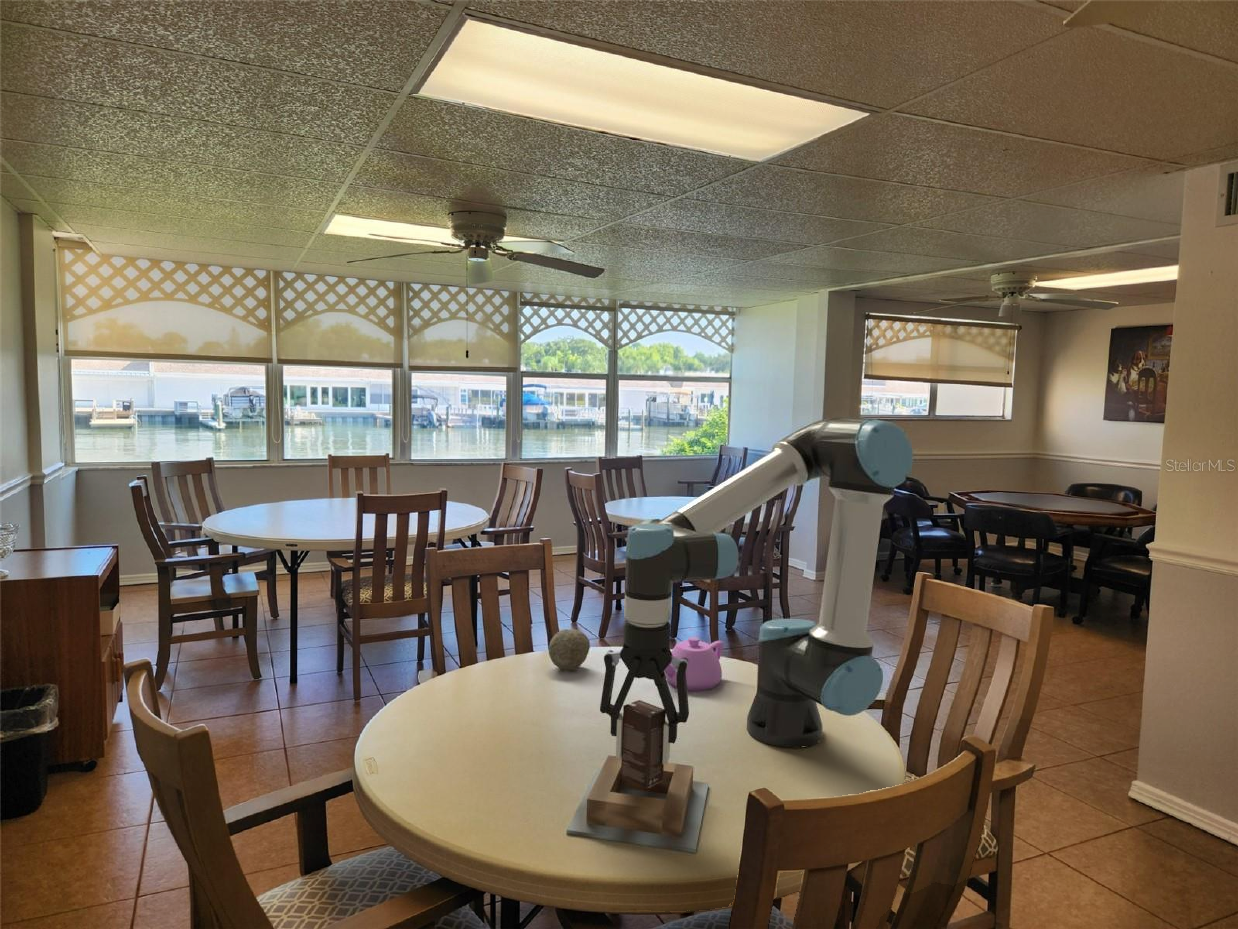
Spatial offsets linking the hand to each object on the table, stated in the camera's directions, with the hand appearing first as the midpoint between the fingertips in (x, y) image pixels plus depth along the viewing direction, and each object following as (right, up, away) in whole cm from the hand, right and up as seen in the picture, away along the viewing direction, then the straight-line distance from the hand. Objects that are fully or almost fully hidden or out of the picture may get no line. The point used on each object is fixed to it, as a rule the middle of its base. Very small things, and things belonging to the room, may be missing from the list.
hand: (642, 757), depth 123 cm
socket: (0, -9, +1) cm, 9 cm away
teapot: (+13, -4, +57) cm, 59 cm away
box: (0, -4, 0) cm, 4 cm away
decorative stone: (-16, -3, +63) cm, 66 cm away
